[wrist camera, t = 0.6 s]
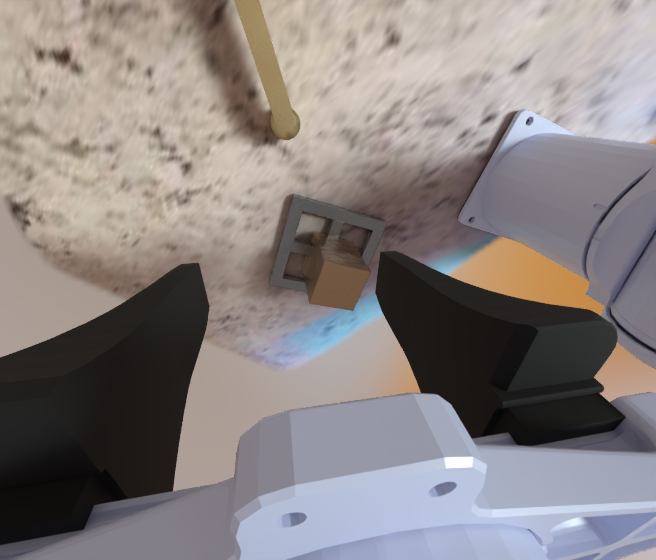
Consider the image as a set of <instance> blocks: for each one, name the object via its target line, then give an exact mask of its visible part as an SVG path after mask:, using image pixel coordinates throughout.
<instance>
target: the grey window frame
mask: <svg viewBox="0 0 656 560" xmlns="http://www.w3.org/2000/svg"><path fill="white" fill-rule="evenodd" d="M302 211H304V212H307V213H311V214H315V215H318V216H322V217H326V218H329V219H331V222H330V225H329V228H328V231H327V233H326V235H325V234H321V233H317V232H314V233H313V236H312V239H311V242H306V241H302V240H298V239H294V237H295V234H296V231H297V227H298V224H299V221H300V217H301V214H302ZM344 223H348V224H352V225H355V226H359V227H363V228H366V229H370V230H369V233H368V235H367V238H366V240H365V242H364V245H363V247H362V249H361V252H360V253H359V251H358V250H357V248H356V246H355V245H354V243H353V241H349V240H345V239H341V238H339V236H340V233H341V231H342V228H343V225H344ZM386 225H387V222H386V221H385V220H382V219H379V218H375V217H372V216H368V215H365V214H361V213H358V212H355V211H351V210H348V209H344V208H341V207H337V206H334V205H330V204H327V203H323V202H320V201H316V200H313V199H310V198H306V197H303V196H299V195H296V194H293V196H292V200H291V204H290V207H289V211H288V215H287V218H286V222H285V226H284V229H283V233H282V236H281V240H280V244H279V247H278V251H277V255H276V258H275V262H274V266H273V269H272V273H271V276H270V280H269V285H271V286H277V287H282V288H288V289H293V290H299V291H304V292H307V294H308V299H309V303H310V304H316V305H322V306H328V307H334V308H340V309H346V310H352V311H353V310H354V308H355V306H356V303H357V301H358V299H359V297H360V295H361V293H362V290H363V288H364V286H365V284H366V282H367V279H368V277H369V275H370V273H371V271H370V269H369V268H368V265H369V263H370V261H371V258H372V256H373V254H374V252H375V249H376V247H377V245H378V243H379V240H380V238H381V236H382V234H383V231H384V229H385V227H386ZM290 252H294V253H299V254H303V255H306V257H305V260H304V263H303V266H302V270H303V275H304V279H303V278H298V277H293V276H288V275H283V274H284V271H285V268H286V264H287V261H288V257H289V254H290Z"/></svg>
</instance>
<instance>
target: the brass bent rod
mask: <svg viewBox="0 0 656 560" xmlns="http://www.w3.org/2000/svg"><path fill="white" fill-rule="evenodd" d="M234 1H235V4H236V7H237V10H238V13H239V16H240V19H241V22H242V25H243V28H244V31H245V34H246V37H247V39H248V42H249V45H250V48H251V51H252V54H253V57H254V60H255V63H256V66H257V69H258V72H259V75H260V78H261V81H262V84H263V87H264V90H265V93H266V96H267V99H268V102H269V105H270V108H271V111H272V114H271V118H270V123H271V128H272V130H273V132H274V134H275V135H276V136H277V137H279V138H280V139H283V140H289V139H292V138H294V137H295V136H296V135H297V134H298V132H299V129H300V120H299V117H298V115H297V113H296V112H295V111H294V110H293V109H292V108H291V105H290V102H289V98H288V95H287V92H286V88H285V85H284V82H283V78H282V75H281V72H280V68H279V65H278V62H277V58H276V55H275V52H274V48H273V45H272V42H271V38H270V35H269V32H268V28H267V25H266V22H265V18H264V15H263V12H262V9H261V5H260V2H259V0H234Z"/></svg>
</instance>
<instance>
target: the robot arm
mask: <svg viewBox="0 0 656 560" xmlns="http://www.w3.org/2000/svg"><path fill="white" fill-rule="evenodd" d="M528 118H529V121H528V123H527V124H526V121H527V119H528ZM471 217H472V219H471V220H470V221H469V219H470V218H471ZM458 221H459V222H460V223H462V224H464V225H467V226H470V227H473V228H476V229H480V230H483V231H486V232H489V233H492V234H495V235H499V236H502V237H505V238H508V239H512V240H515V241H518V242H521V243H522V244H524V245H526V246H527V247H529V248H531V249H533V250H535V251H536V252H538V253H540V254H542V255H543V256H545V257H547V258H549V259H550V260H552V261H554V262H555V263H557V264H559V265H561V266H563V267H564V268H566V269H568V270H570V271H572V272H573V273H575V274H577V275H579V276H580V277H582V278H584V279H586V280H587V281H589V282H590V283H589V287H588V290H587V292H586V295H588V296H589V297H591V298H593V299H594V300H596V301H598V302H599V303H601V304H603V305H604V306H605V307H604V309H603V310H602V314H601V316H600V315H598V314H597V313H595V312H593V311H591V310H587V309H580V308H573V307H565V306H558V305H550V304H545V303H540V302H535V301H529V300H524V299H519V298H515V297H511V296H507V295H503V294H499V293H496V292H492V291H488V290H485V289H482V288H479V287H476V286H473V285H470V284H468V283H464V282H462V281H460V280H457V279H455V278H452V277H450V276H448V275H445V274H443V273H441V272H439V271H436V270H434V269H432V268H430V267H428V266H426V265H424V264H422V263H420V262H418V261H416V260H414V259H412V258H410V257H408V256H406V255H404V254H401V253H399V252H396V251H387V252H381V253H380V260H379V268H378V276H377V284H376V292H375V293H376V296H377V299H378V302H379V305H380V307H381V310H382V312H383V314H384V316H385V318H386V320H387V322H388V323H389V325H390V327H391V329H392V331H393V333H394V335H395V336H396V338H397V340H398V342H399V344H400V345H401V347H402V349H403V351H404V353H405V355H406V357H407V359H408V361H409V363H410V366H411V368H412V371H413V373H414V376H415V378H416V380H417V383H418V386H419V388H420V391H421V393H404V394H397V395H390V396H383V397H376V398H369V399H362V400H355V401H348V402H341V403H334V404H327V405H320V406H313V407H306V408H299V409H292V410H288V411H284V412H281V413H278V414H275V415H272V416H268V417H265V418H263V419H262V420H260V421H259V422H258V423H257V424H255V425H254V426H253V427H252V428H250V429H249V430H248V431H247V432H245V433H244V434H243V435H242V436H241V437H240V440H239V444H238V449H237V453H236V463H235V474H234V477H233V478H230V479H228V480H225V481H222V482H219V483H217V484H212V485H207V486H200V487H195V488H189V489H183V490H178V491H173V485H174V476H175V469H176V461H177V453H178V447H179V440H180V434H181V427H182V421H183V415H184V409H185V404H186V398H187V393H188V388H189V384H190V380H191V376H192V373H193V370H194V367H195V364H196V360H197V357H198V354H199V351H200V348H201V344H202V341H203V338H204V334H205V331H206V327H207V321H208V313H209V303H208V299H207V295H206V291H205V287H204V282H203V278H202V274H201V270H200V266H199V263H191V264H181V265H179V266H177V267H176V268H174V269H173V270H171V271H170V272H168V273H167V274H166V275H164V276H163V277H161V278H160V279H158V280H157V281H156V282H154V283H153V284H151V285H150V286H148V287H147V288H146V289H144V290H143V291H141V292H139V293H138V294H136V295H135V296H133V297H132V298H130V299H128V300H127V301H125V302H124V303H122V304H121V305H119V306H117V307H115V308H114V309H112V310H110V311H109V312H106V313H105V314H103V315H101V316H99V317H97V318H95V319H93V320H91V321H89V322H87V323H85V324H83V325H81V326H78V327H76V328H74V329H72V330H70V331H67V332H65V333H63V334H60V335H58V336H56V337H54V338H51V339H49V340H47V341H44V342H41V343H39V344H36V345H34V346H31V347H28V348H26V349H23V350H20V351H17V352H15V353H12V354H9V355H6V356H4V357H1V358H0V560H618V559H621V558H624V557H627V556H630V555H633V554H636V553H639V552H642V551H646V550H649V549H652V548H656V393H653V392H647V393H641V394H635V395H629V396H623V397H619V398H616V399H615V400H613V401H611V402H608V401H607V400H606V399H605V398H604V397H603V396H602V395H600V394H599V393H600V392H602V391H603V390H604V387H603V385H602V384H600V383H599V382H598V381H597V380H596V379H594V376H595V375H596V374H597V372H598V371H599V370H600V368H601V367H602V365H603V364H604V363H605V362H606V360H607V359H608V357H609V356H610V355H611V353H612V351H613V350H614V348H615V346H616V343H617V342H618V343H619V344H620V345H621V346H622V347H623V348H624V349H625V350H626V351H628V352H629V353H630V354H632V355H633V356H634V357H636V358H637V359H639V360H640V361H642V362H643V363H645V364H647V365H648V366H650V367H652V368H654V369H656V145H651V144H643V143H635V142H626V141H618V140H610V139H601V138H593V137H585V136H578V135H576V134H574V133H572V132H570V131H568V130H566V129H564V128H562V127H560V126H558V125H556V124H555V123H553V122H551V121H549V120H547V119H545V118H543V117H541V116H539V115H537V114H535V113H533V112H531V111H530V110H525V109H522V110H520V111H518V112H517V113H516V114H515V116H514V118H513V120H512V121H511V123H510V125H509V127H508V128H507V130H506V132H505V134H504V136H503V137H502V139H501V141H500V143H499V144H498V146H497V148H496V150H495V152H494V153H493V155H492V157H491V159H490V161H489V162H488V164H487V166H486V168H485V169H484V171H483V173H482V175H481V177H480V178H479V180H478V182H477V184H476V185H475V187H474V189H473V191H472V193H471V194H470V196H469V198H468V200H467V202H466V203H465V205H464V207H463V209H462V210H461V212H460V214H459V216H458Z"/></svg>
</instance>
